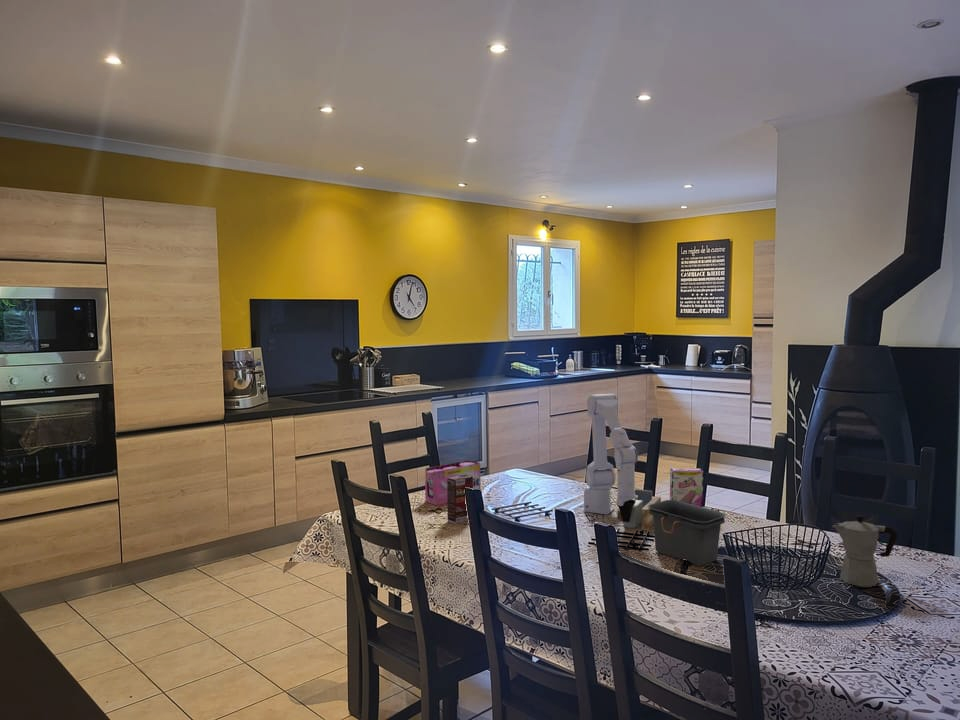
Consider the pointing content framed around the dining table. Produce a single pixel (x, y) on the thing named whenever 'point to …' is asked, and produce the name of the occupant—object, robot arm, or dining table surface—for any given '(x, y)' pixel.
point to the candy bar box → (687, 485)
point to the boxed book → (635, 514)
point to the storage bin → (686, 531)
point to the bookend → (644, 496)
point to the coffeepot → (862, 550)
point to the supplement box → (457, 498)
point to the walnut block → (619, 515)
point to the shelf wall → (648, 514)
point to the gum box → (438, 479)
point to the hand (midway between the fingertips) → (626, 521)
